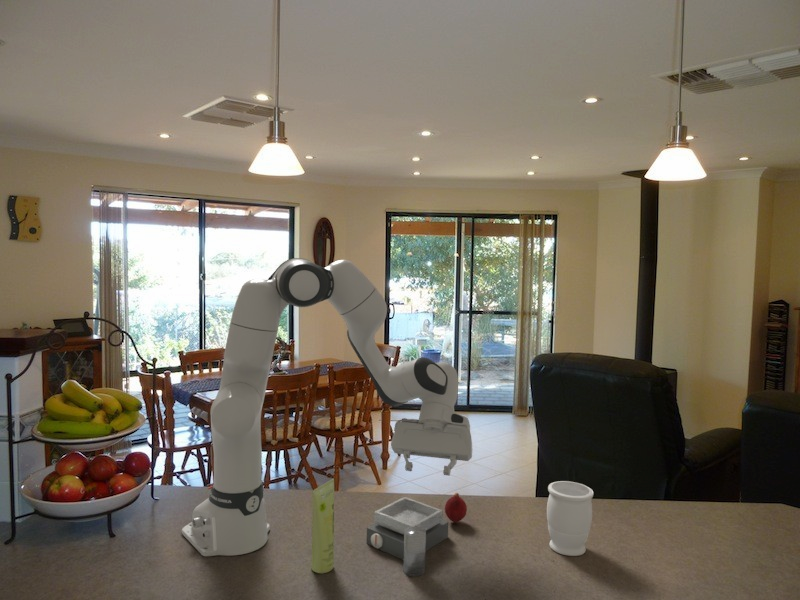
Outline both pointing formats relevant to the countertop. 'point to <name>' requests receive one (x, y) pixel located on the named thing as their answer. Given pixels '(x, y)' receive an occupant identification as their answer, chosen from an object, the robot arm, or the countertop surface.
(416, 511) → the pan
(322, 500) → the tube
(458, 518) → the onion
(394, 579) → the countertop surface
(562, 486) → the jar
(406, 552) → the grey cylinder
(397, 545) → the scale
